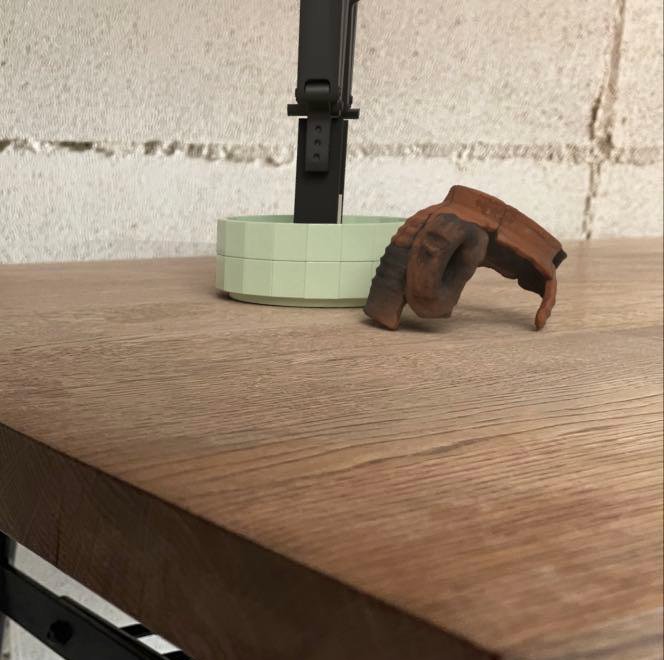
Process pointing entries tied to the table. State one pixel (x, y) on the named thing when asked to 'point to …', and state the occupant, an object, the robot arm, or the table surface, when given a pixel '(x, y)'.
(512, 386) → the table surface
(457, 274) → the ram-horned helmet
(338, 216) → the white cube
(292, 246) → the bowl
